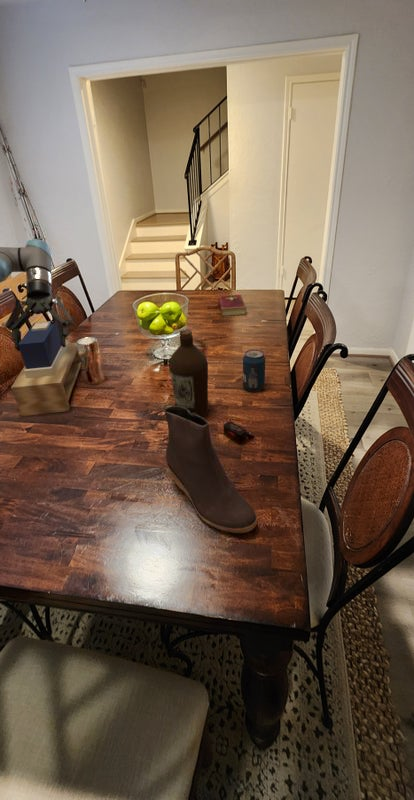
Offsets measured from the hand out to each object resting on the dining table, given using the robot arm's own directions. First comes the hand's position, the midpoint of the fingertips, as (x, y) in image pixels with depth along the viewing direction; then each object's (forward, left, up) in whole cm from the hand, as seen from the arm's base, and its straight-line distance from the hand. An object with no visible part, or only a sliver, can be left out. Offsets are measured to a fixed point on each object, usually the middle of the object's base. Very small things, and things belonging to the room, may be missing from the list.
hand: (40, 347), depth 115 cm
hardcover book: (+73, +68, -16) cm, 101 cm away
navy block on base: (0, +3, -6) cm, 7 cm away
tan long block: (0, +2, -16) cm, 16 cm away
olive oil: (+44, -21, -16) cm, 52 cm away
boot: (+44, -57, -16) cm, 74 cm away
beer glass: (+13, +5, -16) cm, 21 cm away
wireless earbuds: (+55, -36, -16) cm, 68 cm away
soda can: (+65, -11, -16) cm, 68 cm away
